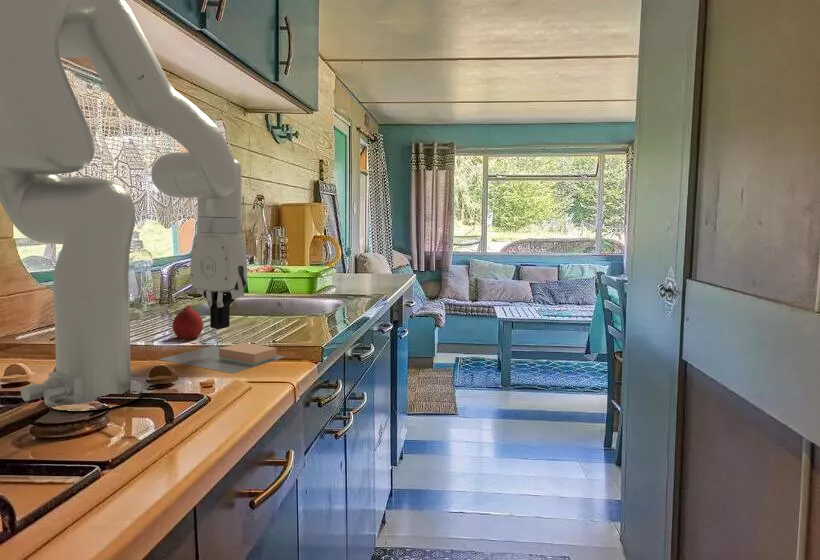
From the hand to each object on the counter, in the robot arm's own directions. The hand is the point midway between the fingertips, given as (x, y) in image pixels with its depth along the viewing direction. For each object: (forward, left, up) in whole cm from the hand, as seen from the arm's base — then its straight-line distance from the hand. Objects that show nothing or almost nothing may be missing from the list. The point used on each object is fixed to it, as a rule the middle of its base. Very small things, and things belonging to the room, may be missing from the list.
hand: (220, 327), depth 114 cm
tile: (0, -3, -4) cm, 5 cm away
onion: (+7, +15, -6) cm, 18 cm away
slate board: (-2, -3, -6) cm, 7 cm away
